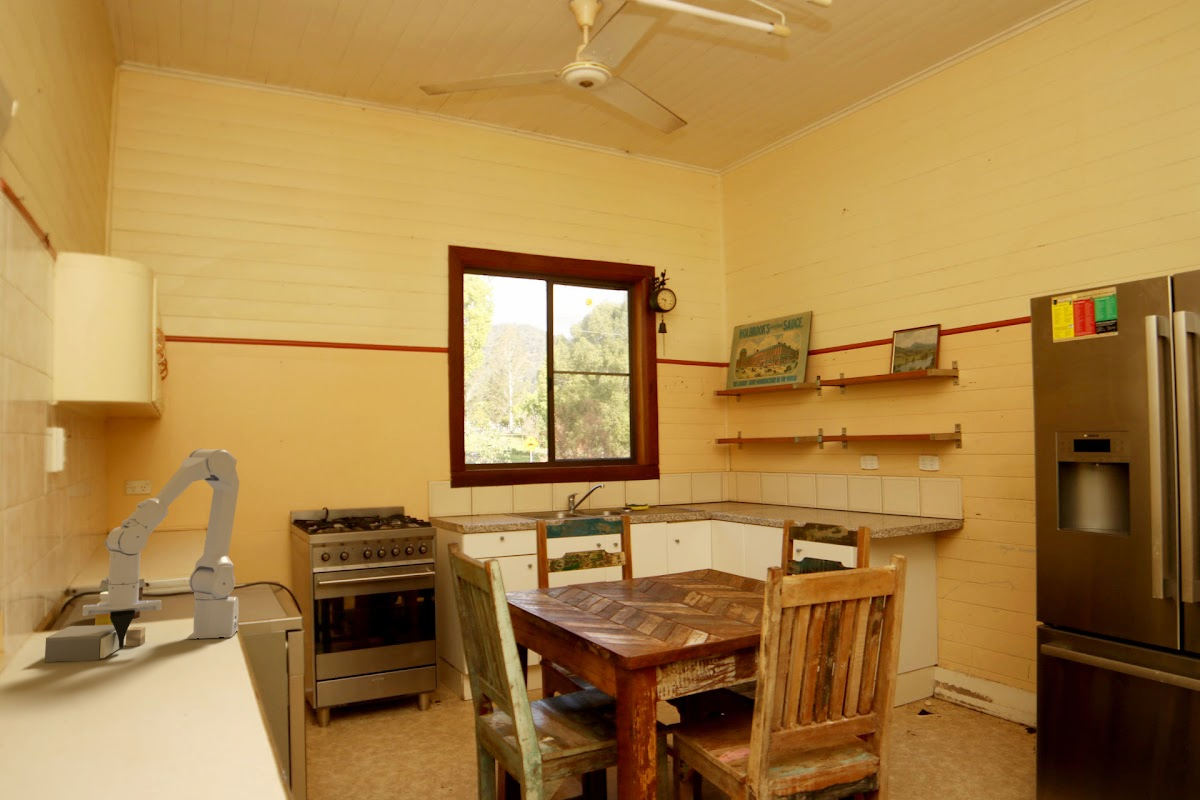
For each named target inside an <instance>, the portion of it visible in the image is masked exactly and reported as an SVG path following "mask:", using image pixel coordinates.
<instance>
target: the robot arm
mask: <svg viewBox="0 0 1200 800" xmlns="http://www.w3.org/2000/svg"><path fill="white" fill-rule="evenodd" d="M236 468H237V459H236V458H235V457H234V456H233V454H232V453H231V452H230V451H229V450H227V449H225V448H218V449H204V448H198V449H194V450H193V451H191V453H189V455H188V457H185V458H184V460H182V463H181V465H180V467H179V468H178V469H177V471H176V472H175V473H174V474H173V475H172V477H171V478H170V479H168V481H167V482H166V483H165V485H164V486H163V488H162V489H161V490H160V491H159V492H158V493H157V495H155V497H153V498H147V499H145V500H144V501H139V502H138V503H137V504H136V509H135V510H134V511H133V512H132V513H131V515H130V516H128V517H127V518H126V519H123V521H121V526H118V527H114V528H113V529H112V530H111V531H110V532H109V533H108V535H107V538H106V539H105V540H104V547H105V548H106V550H107V551H108V552H109V564H108V565H109V568H108V577H109V586H108V603H102V604H97V603H96V604H86V605H85V604H84V605H83V606H82V617H88V616H93V615H94V616H96V614H109V613H110V619H111V622H112V623H113V625H114V628H115V630H116V633H117V636H118V640H119V649H120V648H124V645H125V639H126V632H127V630H128V629H129V628H130V625H131V623H132V621H133V619H134V618H133V617H134V615H135V611H140V612H146V611H162V600H161V599H154V600H152V599H151V600H147V599H146V600H142V601H138V598H139V579H140V570H141V553H142V552H141V551H143V550H145V548H146V546H147V544H148V538H149V536H151V534H152V533H153V531H154V530H156V528H158V527H159V525H160V524H161V523H162V522H163V521H164V519H166V517H167V516H168V514H169V509H168V508H169V506H171V504H173V502H174V501H175V500H176V499H178V497H180V495H182V493H184V491H186V490H187V489H188V488H189V487H190V486H191V485H192V484H193V483H194V482H197V481H202V480H204V481H206V483H207V484H208V485H209V486H210V487H211V488H212V490H213V492H212V497H211V505H210V511H209V518H208V522H207V527H206V528H207V530H206V535H205V540H204V547H203V554H202V556H201V557H200V558H199V559H198V560H197V561H196V562H195V565H194V566H195V567H194V570H193V571H192V573H191V575H190V577H189V578H188V583H189V584H188V585H189V588H190V590H191V592H193V597H194V602H193V603H194V609H193V632H192V633H190V634H189V635H188V636H187V637H186V638H187V640H193V639H194V640H195V639H197V638H199V639H219V637H224V638H232V637H233V636H234V635H235V634H236V633H237V632H238V631H239V614H240V612H239V610H240V608H239V607H240V605H239V604H240V603H239V602H240V601H239V598H238V596H230V594H231V593H232V592H233V590H234V588H235V585H236V576H235V573H234V570H235V569H234V568H235V565H234V563H233V561H232V560H231V559H230V557H229V554H230V548H231V541H232V534H233V527H234V521H235V514H236V509H237V503H238V502H237V501H238V498H239V497H238V495H239V489H240V480H239V477H238V472H237V469H236ZM131 608H133V609H131ZM138 608H139V609H138ZM122 609H125V610H122ZM236 631H237V632H236ZM235 632H236V633H235Z"/></svg>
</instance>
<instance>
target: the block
mask: <svg viewBox="0 0 1200 800" xmlns="http://www.w3.org/2000/svg"><path fill="white" fill-rule="evenodd" d="M146 629H147V628H146V626H135V627H133V626H132V627H128V629H127V632H126V635H125V644H124V645H125V647H136V646H137V647H139V646H141V645H143V644H145V643H146Z"/></svg>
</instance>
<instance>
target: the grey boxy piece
mask: <svg viewBox="0 0 1200 800" xmlns="http://www.w3.org/2000/svg"><path fill="white" fill-rule="evenodd" d="M113 631H115V628H114V625H95V624H94V625H71V626H68V627H65V628H64V629H61V630H59V631H57V632H55V633H53V634H50V635H49V636H47V637H45V648H44V652H45V653H44V663H45V662H47V663H54V662H53V661H71V662H86V661H87V662H89V661H90V662H91V661H92V662H93V661H100V660H101V659H103V658H100V645H101V638H102V637H104V636H106V635H108V634H110V633H112V632H113Z"/></svg>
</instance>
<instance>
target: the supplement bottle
mask: <svg viewBox="0 0 1200 800" xmlns="http://www.w3.org/2000/svg"><path fill="white" fill-rule="evenodd" d="M99 600H100V601H99V602H97V603H96V604H102V603H108V592H103V591H102V592H100V593H99ZM94 618H95V620H94V621H95V623H94V625H113V623H112V622H111V619H110V613H109V614H96V615H95V617H94Z"/></svg>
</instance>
